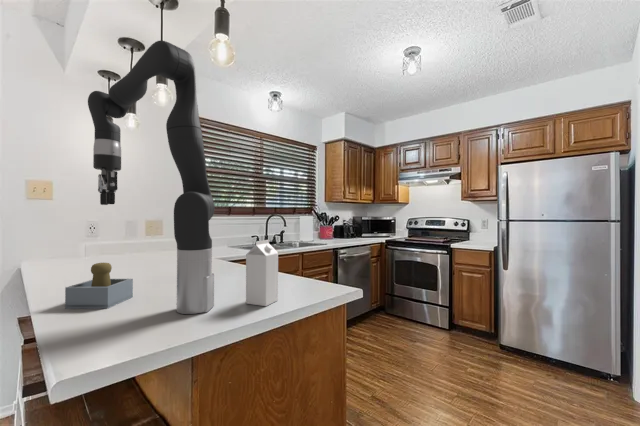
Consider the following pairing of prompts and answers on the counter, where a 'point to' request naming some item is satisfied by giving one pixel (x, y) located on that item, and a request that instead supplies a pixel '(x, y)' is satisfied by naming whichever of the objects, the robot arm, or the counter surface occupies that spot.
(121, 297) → the crate
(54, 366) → the counter surface
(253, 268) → the milk carton
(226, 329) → the counter surface
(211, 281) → the robot arm
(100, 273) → the cork
